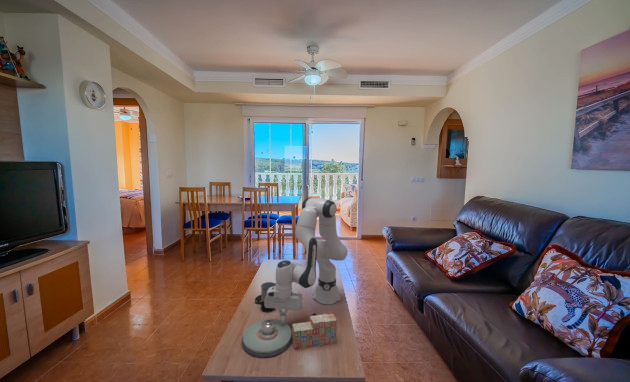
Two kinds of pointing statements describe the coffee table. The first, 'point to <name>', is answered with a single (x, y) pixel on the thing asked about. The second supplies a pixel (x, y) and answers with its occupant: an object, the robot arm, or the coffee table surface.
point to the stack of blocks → (315, 331)
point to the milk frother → (263, 294)
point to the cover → (268, 330)
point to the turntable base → (266, 355)
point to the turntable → (267, 346)
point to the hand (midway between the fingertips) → (283, 315)
